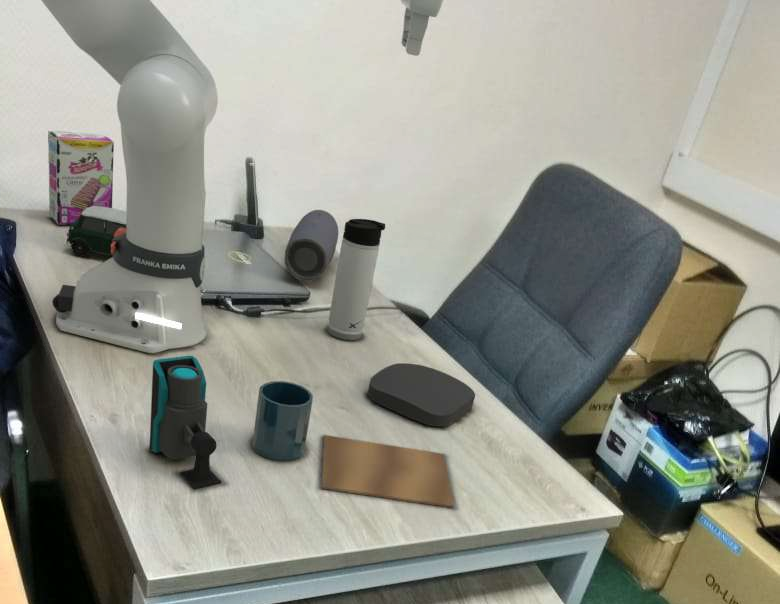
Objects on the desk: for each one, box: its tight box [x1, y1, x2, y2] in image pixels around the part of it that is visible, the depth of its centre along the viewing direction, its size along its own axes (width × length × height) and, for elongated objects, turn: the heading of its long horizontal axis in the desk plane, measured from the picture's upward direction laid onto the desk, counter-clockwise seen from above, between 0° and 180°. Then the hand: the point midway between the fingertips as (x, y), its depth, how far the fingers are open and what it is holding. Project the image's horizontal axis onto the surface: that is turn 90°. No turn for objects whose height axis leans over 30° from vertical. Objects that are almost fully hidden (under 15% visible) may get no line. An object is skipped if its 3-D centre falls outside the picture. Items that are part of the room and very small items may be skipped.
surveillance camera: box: [149, 355, 222, 490], centre depth 95 cm, size 6×12×10 cm
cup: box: [252, 380, 314, 462], centre depth 104 cm, size 7×7×8 cm
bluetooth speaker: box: [284, 209, 339, 282], centre depth 165 cm, size 23×9×10 cm, turn 178°
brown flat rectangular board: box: [321, 434, 454, 509], centre depth 107 cm, size 17×13×1 cm
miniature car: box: [65, 206, 126, 257], centre depth 149 cm, size 9×18×8 cm, turn 89°
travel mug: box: [326, 218, 386, 341], centre depth 138 cm, size 6×7×20 cm
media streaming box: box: [367, 362, 476, 427], centre depth 126 cm, size 15×15×3 cm
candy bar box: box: [47, 130, 115, 226], centre depth 158 cm, size 11×5×16 cm, turn 130°
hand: (409, 50), depth 106 cm, fingers open, 8 cm apart
